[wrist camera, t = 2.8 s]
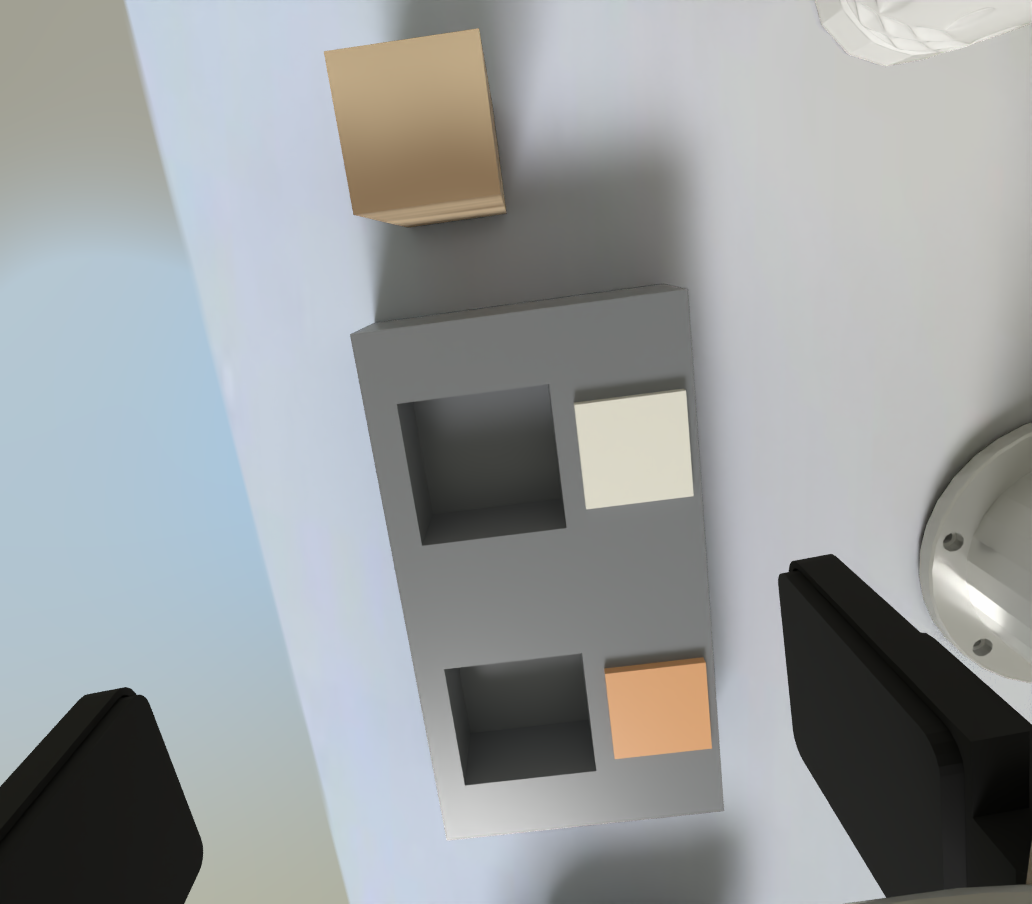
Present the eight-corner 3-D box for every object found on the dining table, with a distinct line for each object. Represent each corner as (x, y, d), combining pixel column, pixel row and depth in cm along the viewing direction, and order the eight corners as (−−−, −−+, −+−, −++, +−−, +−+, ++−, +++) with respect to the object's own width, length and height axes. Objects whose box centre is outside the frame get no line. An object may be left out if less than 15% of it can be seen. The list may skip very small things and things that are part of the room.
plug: (390, 120, 28) (323, 51, 19) (492, 105, 28) (478, 28, 18) (407, 227, 29) (353, 214, 20) (506, 213, 29) (500, 194, 20)
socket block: (374, 322, 30) (347, 335, 26) (663, 283, 30) (690, 289, 25) (455, 770, 36) (445, 847, 31) (698, 742, 36) (726, 818, 31)
